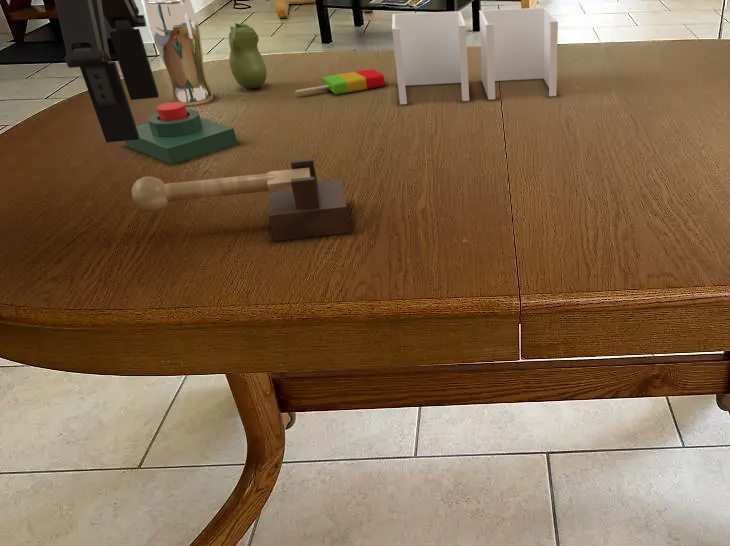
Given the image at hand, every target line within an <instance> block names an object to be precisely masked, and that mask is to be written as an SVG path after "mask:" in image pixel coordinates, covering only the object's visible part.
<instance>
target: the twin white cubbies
mask: <svg viewBox="0 0 730 546" xmlns="http://www.w3.org/2000/svg"><path fill="white" fill-rule="evenodd" d="M478 12H479V36H480V62H481V63H480V64H481V65H480V66H481V83H482V85H483V87H484V91H485V94H486V96H487V97H486V98H487V100H488V101H491V100H496V82H498V81H499V82H503V81H521V80H541V79H543V80H544V82H545V83H546V85H547V87H548V88H549V89H548V97H557V87H558V86H557V85H558V84H557V81H558V78H557V77H558V36H559V35H558V34H559V33H558V31H559V22H558V20H557V18H556V17H555V16H554V15H553V14H552V12H551V11H550V10H549V9H548V8H547V7H527V8H525V7H524V8H504V9H502V8H501V9H481V10H478ZM391 15H392V16H391V18H392V19H391V32H392V33H391V34H392V40H393V50H394V59H395V60H394V61H395V71H396V80H397V90H398V98H399V105H408V100H407V99H408V98H407V90H406V89H407V88H406V86H423V85H424V86H426V85H427V86H428V85H441V84H442V85H444V84H460V85H461V101H462V102H470V86H469V85H470V84H469V67H468V66H469V64H468V45H467V26H466V22H465V20H464V16H463V14H462V12H461V10H459V11H458V10H457V11H455V10H454V11H435V12H433V11H432V12H411V13H409V12H408V13H392V14H391Z"/></svg>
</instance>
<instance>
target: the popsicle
mask: <svg viewBox="0 0 730 546" xmlns="http://www.w3.org/2000/svg"><path fill="white" fill-rule="evenodd" d="M322 82H323V85H318V86H312V87H307V88H300V89H297V90H294V93H295V94H302V93H308V92H313V91H319V90H324V89H327V90H329V91H330V92H331V93H333V94H334V95H341V94H349V93H353V92H358V91H359V92H360V91H365V90H370V89H376V88H381V87H383V86H385V76H384V74H383V73H381V72H379V71H378V70H376V69H374V68H373V69H363V70H357V71H349V72H345V73H338V74H332V75H326V76H323V78H322Z"/></svg>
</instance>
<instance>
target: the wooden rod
mask: <svg viewBox="0 0 730 546" xmlns="http://www.w3.org/2000/svg"><path fill="white" fill-rule="evenodd" d="M306 177H311V174H310V169H309V168H300V169H292V168H291V169H282V170H281V169H280V170H272V171H268V172H267V173H258V174H257V173H256V174H249V175H248V174H247V175H237V176H230V177H227V176H226V177H217V178H211V179H209V178H208V179H198V180H190V181H189V180H188V181H180V182H169V183H165V182H164V181H163V180H162V179H160V178H159V177H155V176H151V175H150V176H149V175H148V176H143V177H140V178H139V179H137V180H136V181H135V182H134V183H133V185H132V188H131V197H132V200H133V202H134V204H135V205H136V206H137V207H138V208H140V209H141V210H142V211H145V212H148V213H158V212H161V211H163V210H164V209H166V208H167V207H168V205H169V203H170V202H179V201H187V200H188V201H189V200H197V199H205V198H206V199H207V198H216V197H226V196H234V195H244V194H254V193H264V192H268V193H269V194H270V193H272V192H281V191H290V190H292V185H291V179H296V178H306Z"/></svg>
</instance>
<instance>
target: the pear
mask: <svg viewBox="0 0 730 546" xmlns="http://www.w3.org/2000/svg"><path fill="white" fill-rule="evenodd" d="M229 28H230V29H229V30H230V32H229V34H228V45H229V48H230V51H229V52H230V53H229V60H228V62H229V69H230V71H231V74H232V76H233V78H234V80H235V81H236V82H237V84H238V85H239V86H241V87H242V88H245V89H249V90H250V89H251V90H254V89H258V88H260V87H262V86H263V84H265V82H266V80H267V67H266V63H265V61H264V58H263V56H262V54H261V52H260V51H259V48H258V47H259V46H258V44H259V41H260V40H259V39H260V38H259V35H258V33H257V32H256V30H255V29H254V28H253V27H251V26H249V25H248V24H247V23H236V22H235V23H234V26H230V27H229Z"/></svg>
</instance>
